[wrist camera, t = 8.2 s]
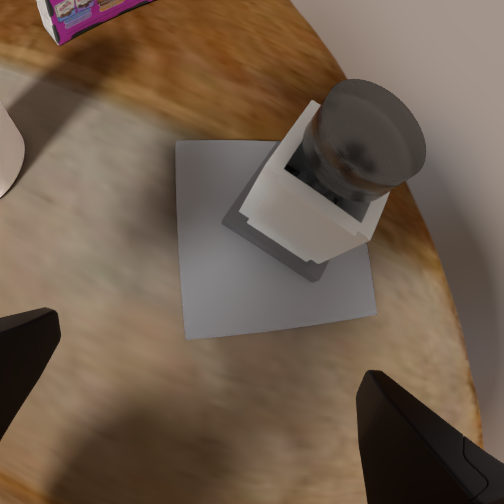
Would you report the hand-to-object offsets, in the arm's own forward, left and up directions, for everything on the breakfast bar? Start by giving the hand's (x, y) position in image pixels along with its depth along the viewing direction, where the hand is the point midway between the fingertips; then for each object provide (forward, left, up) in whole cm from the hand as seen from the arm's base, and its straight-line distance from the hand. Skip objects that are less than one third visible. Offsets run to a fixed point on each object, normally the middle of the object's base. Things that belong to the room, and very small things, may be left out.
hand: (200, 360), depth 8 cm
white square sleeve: (+7, -7, -9) cm, 13 cm away
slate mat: (+6, -6, -10) cm, 13 cm away
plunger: (+7, -7, -7) cm, 12 cm away
